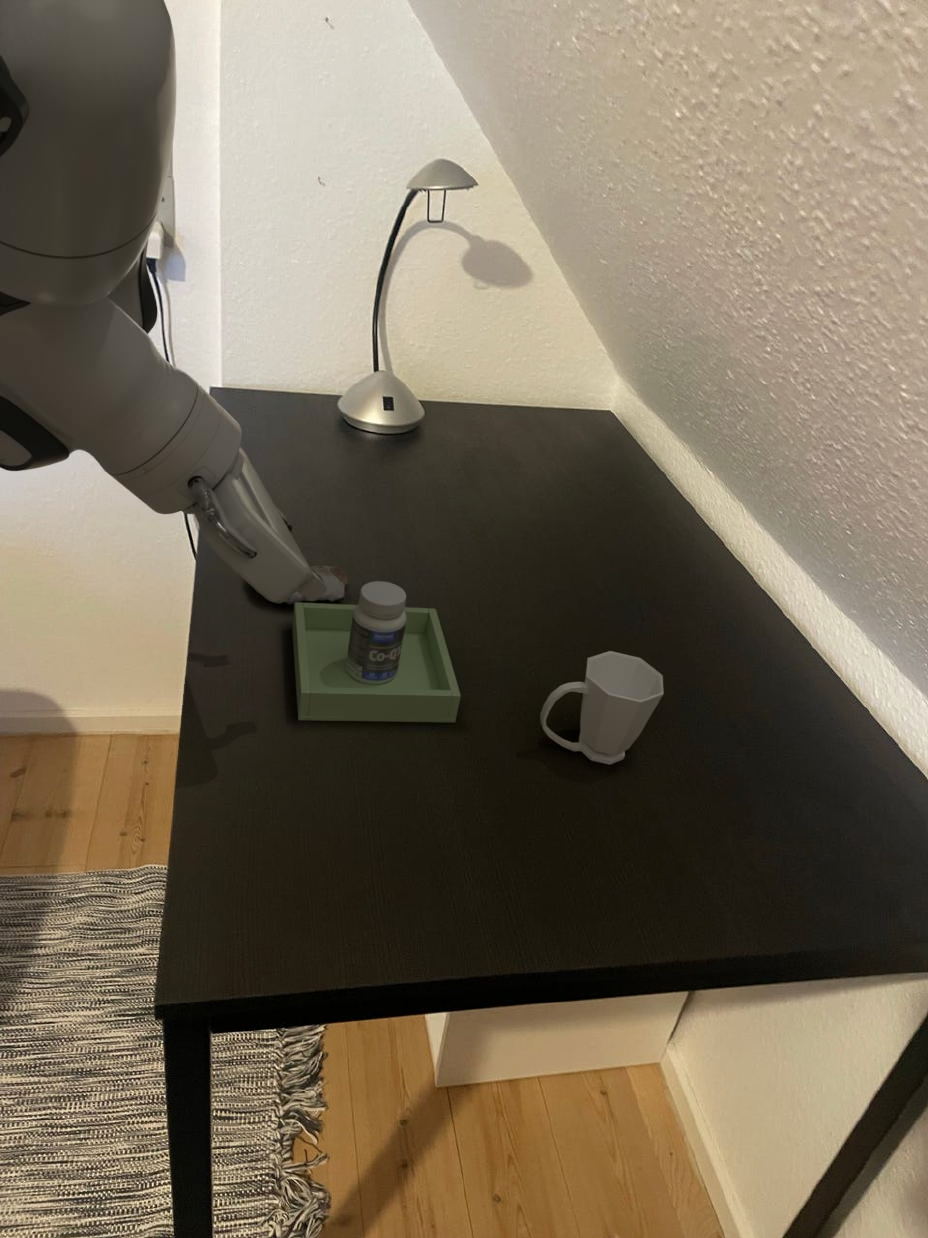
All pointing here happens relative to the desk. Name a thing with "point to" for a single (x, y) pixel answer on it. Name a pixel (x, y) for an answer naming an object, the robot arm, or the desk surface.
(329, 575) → the stone
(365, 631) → the pill bottle
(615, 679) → the cup
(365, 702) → the sage tray
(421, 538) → the desk surface
